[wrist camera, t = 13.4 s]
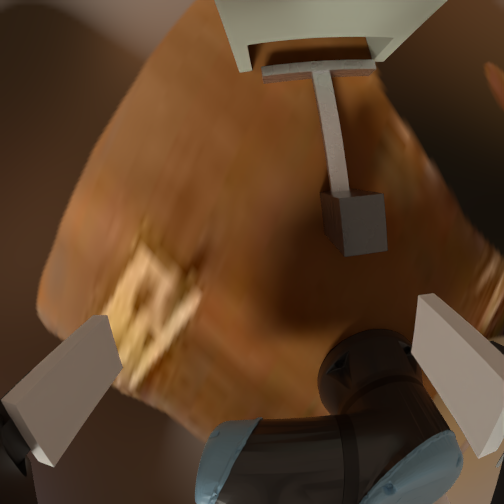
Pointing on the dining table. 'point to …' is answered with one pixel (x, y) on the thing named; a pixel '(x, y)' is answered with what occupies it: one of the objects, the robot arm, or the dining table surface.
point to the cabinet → (322, 22)
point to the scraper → (339, 160)
